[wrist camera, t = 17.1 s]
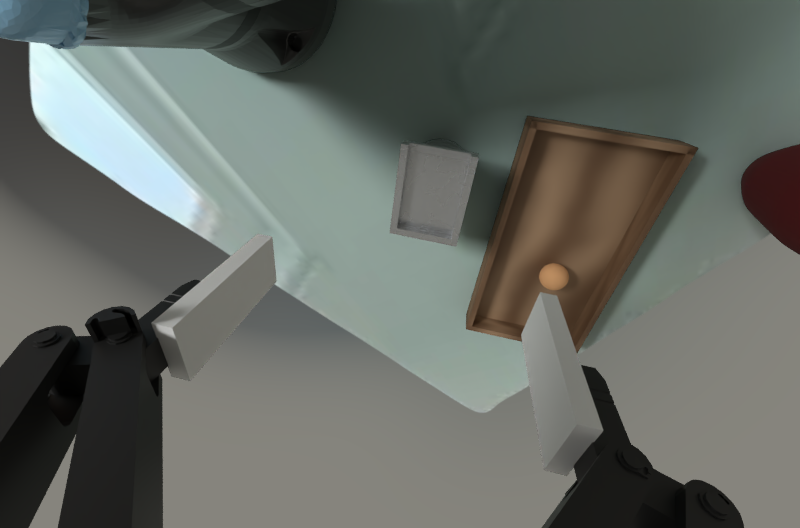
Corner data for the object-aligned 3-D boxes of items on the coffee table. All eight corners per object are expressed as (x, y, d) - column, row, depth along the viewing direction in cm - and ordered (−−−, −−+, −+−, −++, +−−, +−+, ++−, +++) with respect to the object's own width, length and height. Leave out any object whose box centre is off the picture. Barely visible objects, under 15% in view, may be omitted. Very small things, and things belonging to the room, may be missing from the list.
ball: (576, 265, 36) (568, 273, 38) (547, 255, 37) (541, 264, 39) (567, 291, 35) (560, 297, 38) (538, 280, 36) (533, 287, 39)
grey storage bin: (404, 200, 38) (388, 232, 31) (415, 125, 34) (399, 143, 27) (460, 211, 38) (457, 246, 30) (478, 136, 33) (480, 158, 26)
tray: (466, 313, 45) (466, 329, 42) (527, 115, 31) (531, 120, 29) (570, 336, 43) (576, 353, 41) (679, 140, 30) (698, 148, 28)
